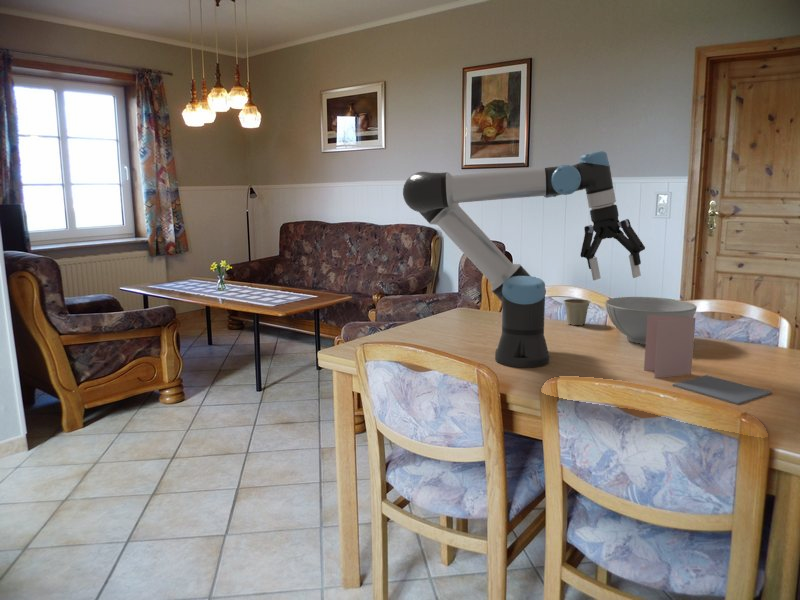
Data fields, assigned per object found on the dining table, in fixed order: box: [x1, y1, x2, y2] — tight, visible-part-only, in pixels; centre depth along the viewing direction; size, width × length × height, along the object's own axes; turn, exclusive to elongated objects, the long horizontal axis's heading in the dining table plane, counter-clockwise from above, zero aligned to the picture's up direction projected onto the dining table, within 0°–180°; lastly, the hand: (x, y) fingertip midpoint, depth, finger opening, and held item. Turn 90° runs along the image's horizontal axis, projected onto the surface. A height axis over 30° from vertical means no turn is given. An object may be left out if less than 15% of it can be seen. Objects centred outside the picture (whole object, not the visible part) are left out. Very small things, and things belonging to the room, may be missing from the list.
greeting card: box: [643, 315, 696, 379], centre depth 152 cm, size 11×7×15 cm, turn 71°
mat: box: [672, 374, 773, 406], centre depth 142 cm, size 14×16×1 cm
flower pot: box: [563, 298, 592, 326], centre depth 215 cm, size 9×9×9 cm
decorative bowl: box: [604, 296, 698, 345], centre depth 189 cm, size 27×27×12 cm
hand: (616, 278), depth 173 cm, fingers open, 13 cm apart
